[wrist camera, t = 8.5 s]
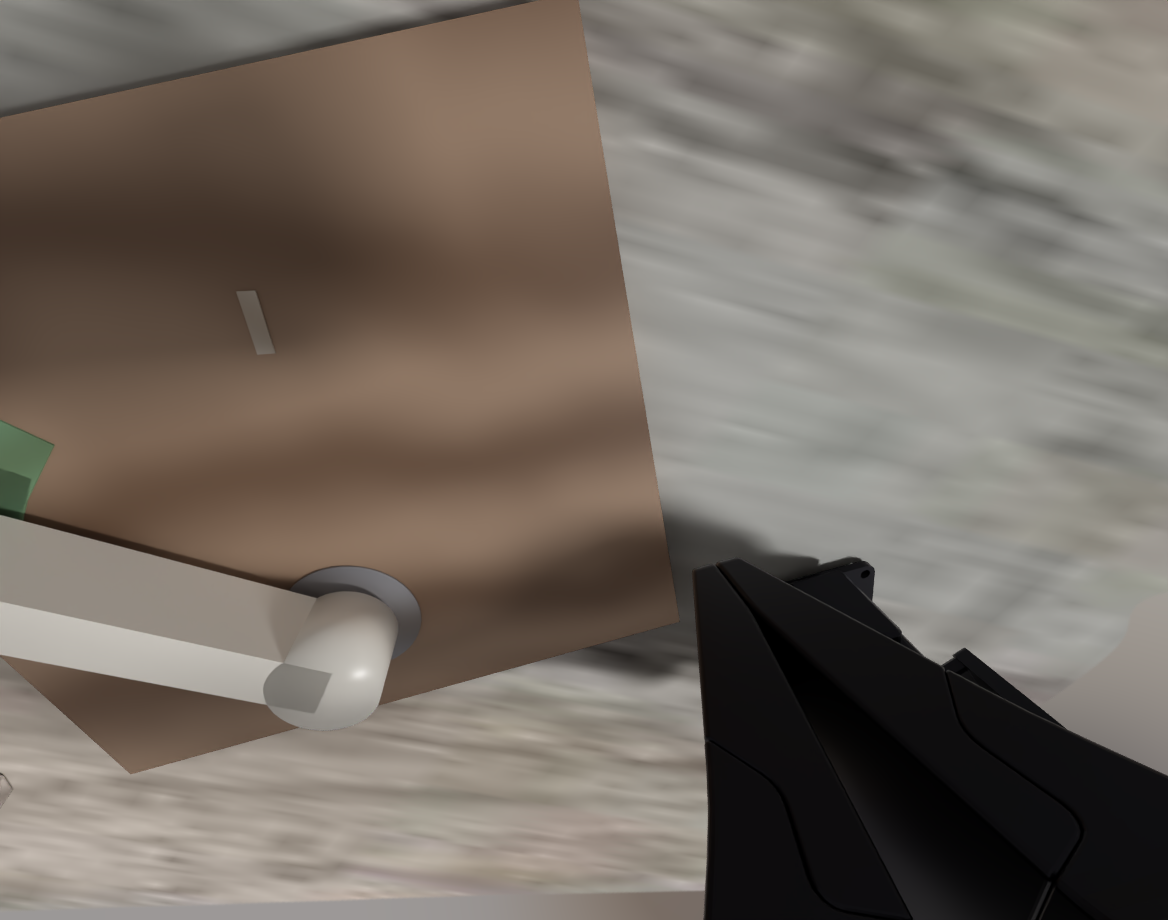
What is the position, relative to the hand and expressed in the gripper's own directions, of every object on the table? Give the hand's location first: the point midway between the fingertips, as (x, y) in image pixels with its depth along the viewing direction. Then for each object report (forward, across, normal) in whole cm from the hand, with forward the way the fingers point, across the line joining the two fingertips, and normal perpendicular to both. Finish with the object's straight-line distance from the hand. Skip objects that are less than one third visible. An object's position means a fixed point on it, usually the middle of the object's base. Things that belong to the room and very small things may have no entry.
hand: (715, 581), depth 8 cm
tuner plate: (+11, +11, 0) cm, 16 cm away
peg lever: (+9, +16, +2) cm, 19 cm away
